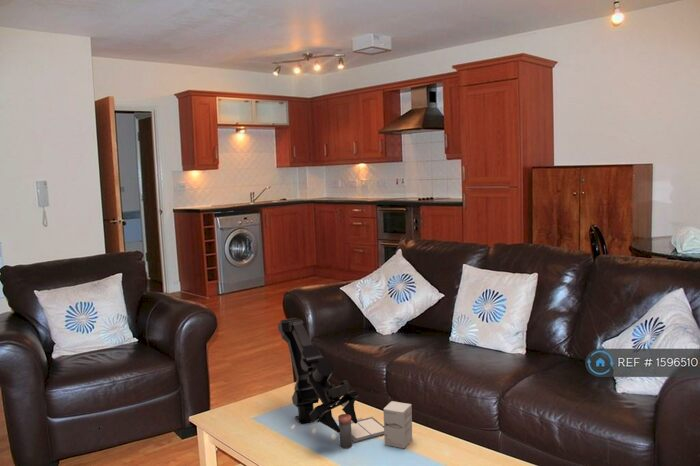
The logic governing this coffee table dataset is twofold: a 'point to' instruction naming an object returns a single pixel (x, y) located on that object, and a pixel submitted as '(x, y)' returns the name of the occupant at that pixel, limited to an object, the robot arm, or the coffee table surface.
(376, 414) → the coffee table surface
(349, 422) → the ball
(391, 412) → the supplement box
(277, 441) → the coffee table surface
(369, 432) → the grey framed board
